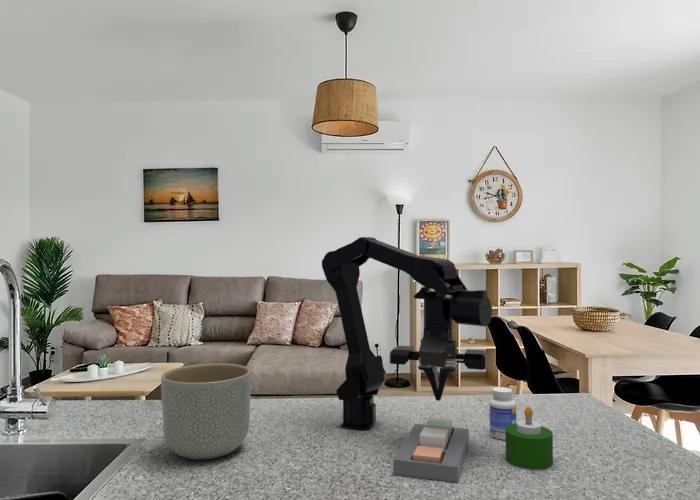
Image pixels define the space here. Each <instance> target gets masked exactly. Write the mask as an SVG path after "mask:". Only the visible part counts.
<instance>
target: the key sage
mask: <svg viewBox="0 0 700 500" xmlns="http://www.w3.org/2000/svg"><path fill="white" fill-rule="evenodd" d="M425 425H426V428H435V429H446V430H448V437H449V438H450V436H451V433H452V427H453V419H452V418H451V419H450V418H440V417H428V419H427V421H426V423H425Z"/></svg>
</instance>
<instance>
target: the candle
mask: <svg viewBox="0 0 700 500" xmlns="http://www.w3.org/2000/svg"><path fill="white" fill-rule="evenodd" d="M533 414H534V413H533V409H532V408H531V407H530V406H527V407H525V410H524V417H525V420H524V419H523V420H518V421H516V424H512V425H509V426H507V427H506V429H505V434H506V440H505V460H506V462H507V463H509V464H510V465H512V466H515V467H518V468H521V469H524V470H525V469H527V470H532V471H533V470H537V471H538V470H546V469H549V468H551V467H552V466H553V464H554V455H553V454H554V453H553V450H554V447H553V445H554V444H553V442H554V440H553V439H554V438H553V431H552V430H551V429H549V428H548V427H545V426H542V424H541V423H539V422H537V421H534V420H533Z"/></svg>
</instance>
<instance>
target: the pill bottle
mask: <svg viewBox="0 0 700 500" xmlns="http://www.w3.org/2000/svg"><path fill="white" fill-rule="evenodd" d="M512 397H513V390H512V389H511V387H502V386H498V387H497V386H496V387H494V388H492V397H491V398H490V400H489V405H488V406H489V434H490V436H491V437H492V438H495V439H497V440H502V441H504V440H505V441H506V434H505V429H506V427H507V426H509V425H512V424H517V402H516V400H514V399H512Z"/></svg>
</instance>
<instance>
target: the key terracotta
mask: <svg viewBox="0 0 700 500" xmlns="http://www.w3.org/2000/svg"><path fill="white" fill-rule="evenodd" d="M413 460H416V461H425V462H433V463H442V461H443V448H436V447H426V446H417V448H416V450H415V452H414V454H413Z"/></svg>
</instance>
